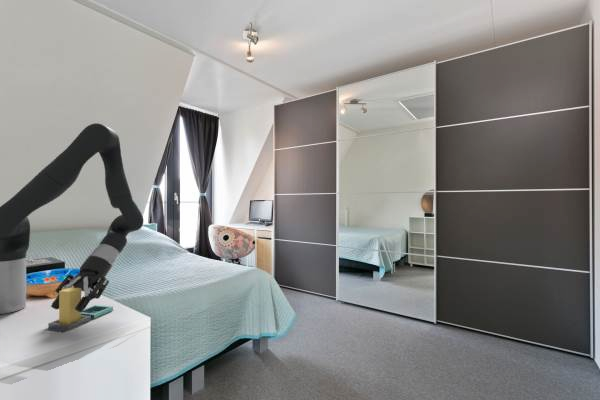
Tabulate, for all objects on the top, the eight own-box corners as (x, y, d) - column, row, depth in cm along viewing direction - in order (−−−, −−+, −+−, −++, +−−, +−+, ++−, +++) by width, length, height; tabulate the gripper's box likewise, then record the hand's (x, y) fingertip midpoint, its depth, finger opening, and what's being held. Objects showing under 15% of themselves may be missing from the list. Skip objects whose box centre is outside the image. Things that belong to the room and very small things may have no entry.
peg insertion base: (42, 334, 83) (42, 325, 83) (96, 311, 99) (96, 304, 99) (63, 336, 81) (63, 328, 81) (114, 313, 98) (114, 306, 98)
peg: (59, 325, 85) (59, 291, 85) (71, 320, 89) (71, 287, 89) (69, 326, 85) (69, 291, 84) (81, 321, 88) (81, 288, 88)
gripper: (74, 253, 95) (36, 301, 84) (112, 255, 92) (77, 305, 81) (89, 266, 101) (55, 313, 89) (125, 268, 98) (94, 317, 86)
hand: (65, 309), depth 85 cm, fingers open, 8 cm apart
